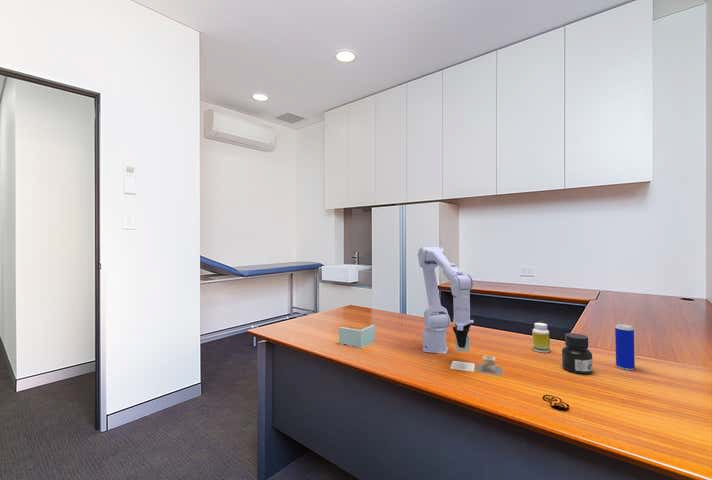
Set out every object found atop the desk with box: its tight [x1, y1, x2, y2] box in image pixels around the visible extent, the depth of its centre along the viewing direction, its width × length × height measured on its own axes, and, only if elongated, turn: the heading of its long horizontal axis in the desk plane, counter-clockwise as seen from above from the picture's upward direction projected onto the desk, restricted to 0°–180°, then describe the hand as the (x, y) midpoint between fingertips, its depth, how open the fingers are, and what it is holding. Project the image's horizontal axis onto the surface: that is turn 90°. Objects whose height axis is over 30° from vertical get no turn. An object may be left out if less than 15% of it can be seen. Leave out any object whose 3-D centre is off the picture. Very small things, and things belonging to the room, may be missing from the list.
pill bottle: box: [531, 322, 551, 354], centre depth 134 cm, size 6×6×11 cm
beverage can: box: [614, 323, 636, 371], centre depth 115 cm, size 5×5×15 cm
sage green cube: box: [455, 335, 471, 353], centre depth 118 cm, size 4×4×4 cm
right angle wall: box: [338, 324, 376, 349], centre depth 149 cm, size 12×12×8 cm
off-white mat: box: [449, 360, 476, 373], centre depth 118 cm, size 8×8×1 cm
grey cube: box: [482, 355, 496, 372], centre depth 114 cm, size 4×4×4 cm
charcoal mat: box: [476, 363, 503, 376], centre depth 114 cm, size 8×8×1 cm
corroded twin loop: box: [542, 394, 570, 411], centre depth 91 cm, size 5×8×1 cm, turn 3°
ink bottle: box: [561, 332, 593, 375], centre depth 114 cm, size 10×9×12 cm
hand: (462, 345), depth 118 cm, fingers closed on sage green cube, 4 cm apart
